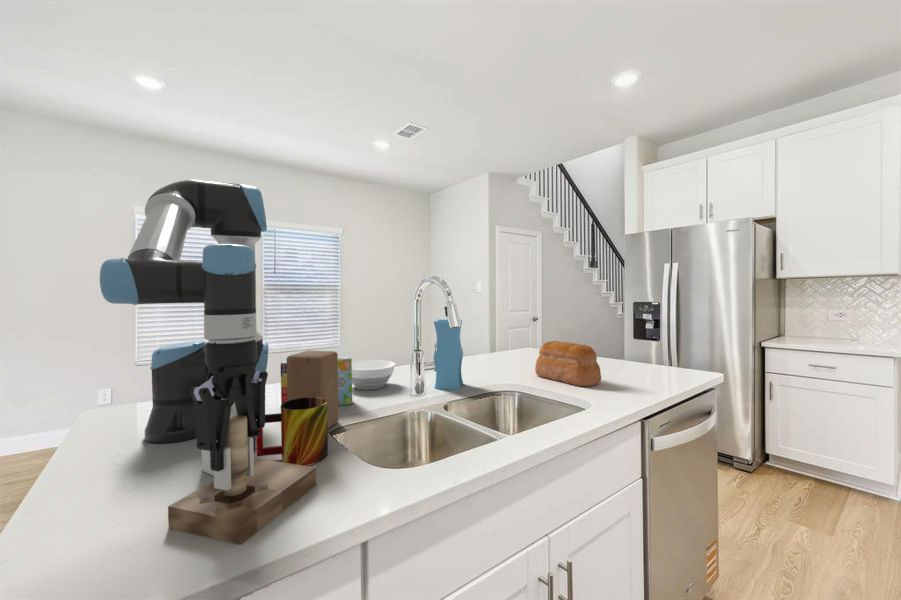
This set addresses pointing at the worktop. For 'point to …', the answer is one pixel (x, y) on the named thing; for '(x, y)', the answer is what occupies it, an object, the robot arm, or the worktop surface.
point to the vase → (448, 356)
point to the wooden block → (314, 379)
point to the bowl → (371, 373)
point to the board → (242, 502)
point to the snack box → (343, 381)
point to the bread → (568, 363)
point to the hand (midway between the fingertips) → (234, 480)
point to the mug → (299, 431)
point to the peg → (238, 454)
